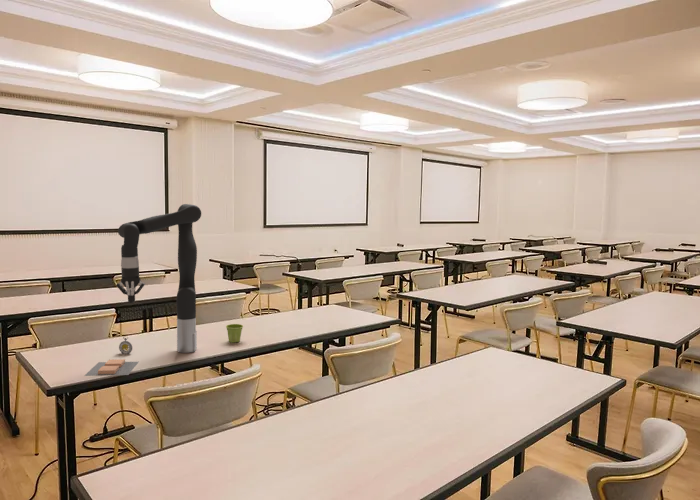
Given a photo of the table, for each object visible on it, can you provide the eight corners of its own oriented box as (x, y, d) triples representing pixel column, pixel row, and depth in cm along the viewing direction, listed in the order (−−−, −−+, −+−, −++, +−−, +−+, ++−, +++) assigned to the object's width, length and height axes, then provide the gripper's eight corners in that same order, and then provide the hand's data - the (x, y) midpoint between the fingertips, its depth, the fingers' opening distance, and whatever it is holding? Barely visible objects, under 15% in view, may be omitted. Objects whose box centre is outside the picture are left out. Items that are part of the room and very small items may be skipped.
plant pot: (245, 339, 282) (245, 324, 281) (240, 344, 273) (240, 328, 272) (229, 338, 283) (229, 323, 282) (223, 343, 274) (223, 327, 273)
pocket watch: (114, 361, 239) (114, 340, 238) (113, 355, 247) (113, 336, 246) (133, 359, 243) (133, 338, 242) (131, 354, 251) (131, 334, 250)
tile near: (119, 365, 225) (102, 366, 224) (114, 370, 219) (97, 370, 218) (119, 369, 225) (102, 369, 224) (115, 373, 219) (97, 374, 218)
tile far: (125, 359, 233) (109, 359, 232) (121, 363, 228) (104, 363, 226) (125, 362, 234) (109, 363, 233) (121, 367, 228) (104, 367, 227)
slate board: (139, 364, 236) (139, 361, 236) (128, 377, 218) (128, 374, 218) (98, 364, 233) (98, 362, 233) (84, 378, 216) (84, 375, 216)
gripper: (146, 265, 238) (148, 300, 240) (117, 265, 236) (118, 301, 238) (143, 267, 231) (144, 304, 233) (112, 267, 229) (114, 305, 230)
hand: (131, 302), depth 235 cm, fingers closed
